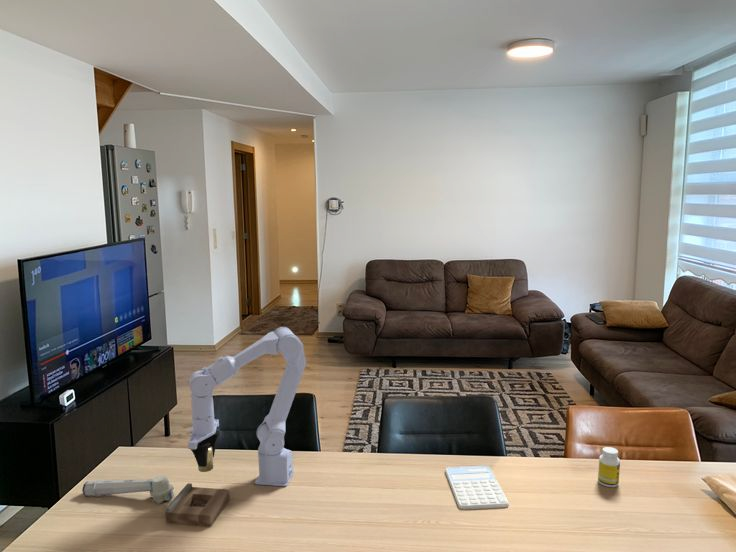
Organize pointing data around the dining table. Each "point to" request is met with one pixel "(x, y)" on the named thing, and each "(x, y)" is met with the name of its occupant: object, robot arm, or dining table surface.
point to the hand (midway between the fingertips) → (206, 461)
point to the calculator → (476, 487)
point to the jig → (199, 516)
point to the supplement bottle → (609, 467)
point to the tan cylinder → (208, 461)
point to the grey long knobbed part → (131, 487)
